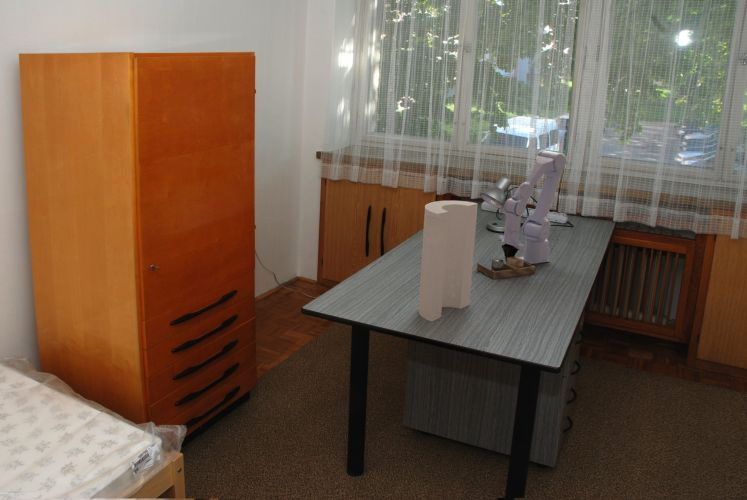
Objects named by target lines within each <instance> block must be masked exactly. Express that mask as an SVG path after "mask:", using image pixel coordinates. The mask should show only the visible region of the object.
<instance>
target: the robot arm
mask: <svg viewBox="0 0 747 500" xmlns="http://www.w3.org/2000/svg"><path fill="white" fill-rule="evenodd" d="M566 164H567V159H566V156H565V154H564V153H562V152H555V151H550V150H545V149H542V150H540V151H539V152H538V154H537V156H536V157H535V165H534V167H533V169H532V170H531V172H530V174H529V175H528V177H527V179H526V181H525V182H522V183H520V184H519V186H518V187H517V188H516V191H515V192H514V194H513V195H512V196H511V198H507V199H506V200H505V202H504V205H503V207H502V208H503V211H504V217H505V223H504V233H503V235H498V236H497V241H498V242H501V244H502V245H501V249H502V251H503V253H504V254H503V255H504V259H505V264H507V257H514V256H516V254H517V253H518V251H520V252H522V251H524V252H523V256H518V257H519V258H521V259H523V260H524V262H526V263H528V264H530V265H533V264H541V263H548V262H550V260H549V255H550V248H551V246H550V242H549V240H548V237H549V236H550V230H551V226H552V224H551V221H549V219H548V214H549V213H550V209H551V207H552V204H553V200H554V198H555V195H556V192H557V189H558V185H559V183H560V180H561V177H562V175H563V174H564V171H565V170H564V169H565V167H566ZM543 175H545V178H544V179H545V180H544V182H543V184H542V188H541V191H540V193H539V197H538V200H537V203H536V205H535V208H534V211H533V213H532V214H530V215H528V216H527V217H526V220H525V222H523V224H522V227H521V223H522V222H521V221H522V215H523V214H524V213H525V212H526V209H527V204H528V201H529V199H530V198H531V196H532V195H533V193H534V192H535V189H534V187H535V186H536V184H537V183H538V181H540V179H542V177H543ZM520 233H522V235H523V236H524V237H523V238H524V239H525V241H524V244H523V243H522V242H521V241H520V240H519V239H520Z"/></svg>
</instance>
